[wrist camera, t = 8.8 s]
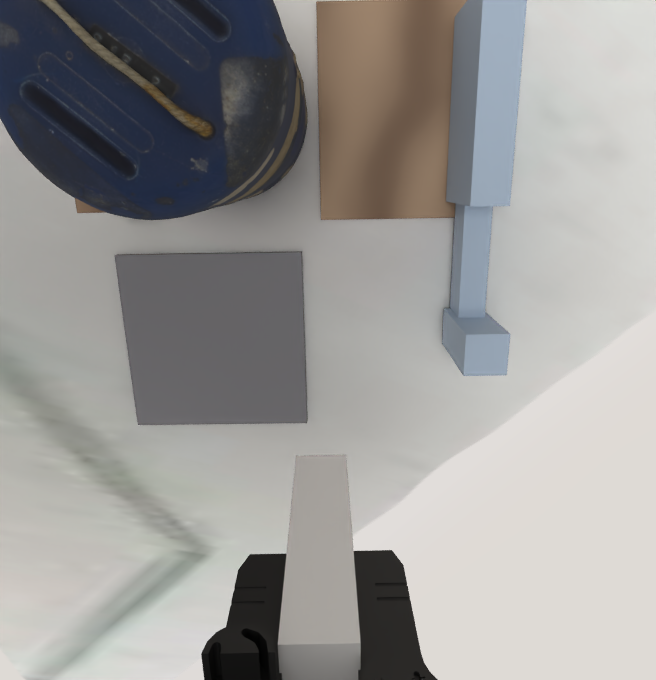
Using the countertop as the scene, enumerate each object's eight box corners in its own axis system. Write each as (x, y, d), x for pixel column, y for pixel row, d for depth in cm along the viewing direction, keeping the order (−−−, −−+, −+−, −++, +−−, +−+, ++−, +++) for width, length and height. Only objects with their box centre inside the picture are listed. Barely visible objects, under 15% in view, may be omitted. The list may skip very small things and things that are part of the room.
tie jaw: (439, 343, 35) (459, 375, 29) (454, 17, 29) (484, -22, 24) (478, 342, 35) (506, 375, 29) (501, 16, 29) (542, -24, 24)
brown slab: (123, 222, 33) (80, 232, 28) (95, 7, 30) (39, -33, 24) (479, 216, 33) (510, 225, 27) (493, -2, 30) (532, -45, 24)
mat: (140, 422, 38) (137, 424, 37) (117, 254, 34) (114, 255, 34) (306, 420, 37) (306, 423, 37) (301, 251, 34) (301, 252, 33)
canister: (243, -9, 30) (118, -268, 12) (341, 137, 32) (351, 88, 15) (118, 100, 31) (-143, 7, 14) (220, 231, 34) (100, 288, 16)
